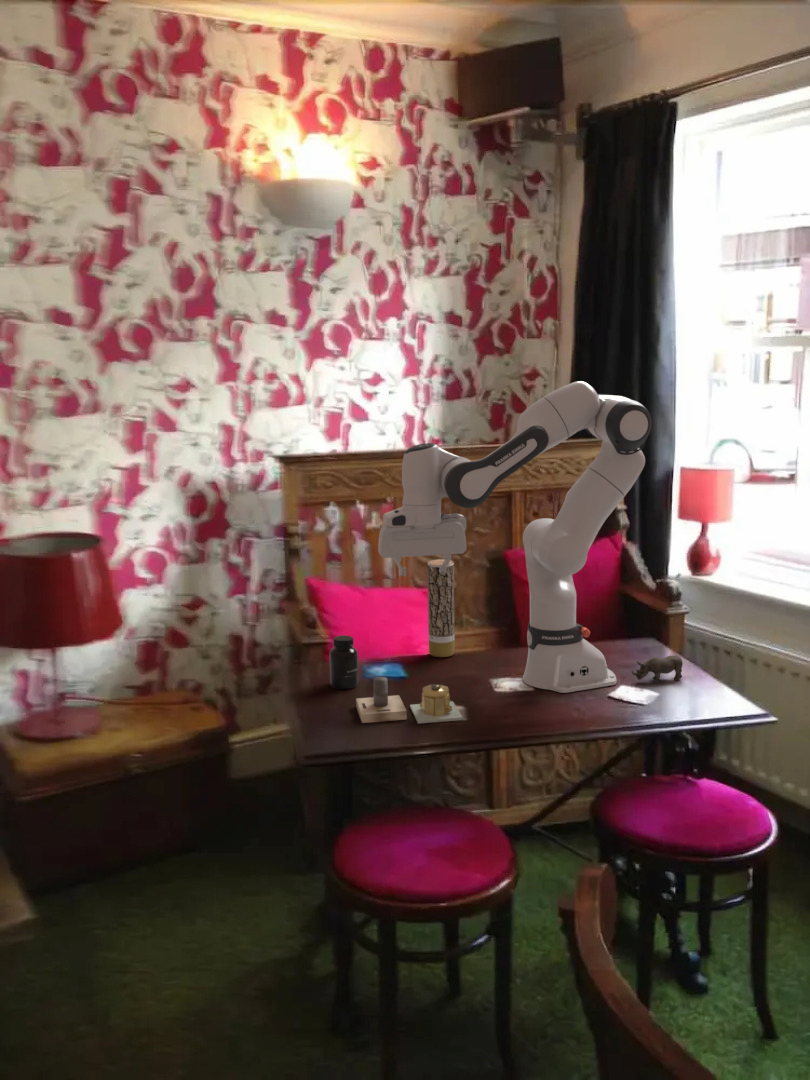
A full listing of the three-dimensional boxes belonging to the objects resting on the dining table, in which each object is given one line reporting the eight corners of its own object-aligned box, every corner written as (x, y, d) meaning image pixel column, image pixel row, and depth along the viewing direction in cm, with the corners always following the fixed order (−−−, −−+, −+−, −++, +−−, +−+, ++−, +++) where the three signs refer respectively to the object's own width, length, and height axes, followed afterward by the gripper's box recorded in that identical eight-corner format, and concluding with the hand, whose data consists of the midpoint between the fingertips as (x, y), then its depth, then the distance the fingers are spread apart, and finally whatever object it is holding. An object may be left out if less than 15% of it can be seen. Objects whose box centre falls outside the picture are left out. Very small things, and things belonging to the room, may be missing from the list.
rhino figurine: (627, 680, 247) (627, 656, 246) (678, 675, 250) (679, 651, 249) (634, 686, 243) (635, 662, 242) (687, 680, 246) (688, 656, 245)
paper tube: (435, 659, 265) (434, 566, 260) (424, 652, 271) (423, 561, 266) (459, 655, 267) (458, 563, 262) (447, 648, 273) (446, 558, 268)
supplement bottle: (354, 690, 243) (353, 642, 241) (327, 689, 244) (325, 641, 242) (361, 681, 250) (360, 634, 247) (334, 679, 251) (333, 633, 249)
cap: (427, 703, 232) (427, 679, 231) (456, 709, 228) (456, 684, 227) (415, 712, 227) (414, 686, 226) (444, 718, 223) (444, 692, 222)
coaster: (452, 703, 233) (452, 701, 233) (462, 719, 224) (462, 717, 224) (410, 707, 232) (410, 704, 232) (418, 723, 222) (418, 721, 222)
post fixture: (399, 703, 234) (398, 670, 233) (406, 719, 225) (406, 685, 223) (356, 706, 233) (355, 673, 231) (362, 723, 223) (360, 688, 221)
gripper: (463, 510, 236) (463, 568, 239) (376, 514, 233) (377, 573, 236) (469, 515, 230) (469, 574, 233) (380, 519, 227) (381, 579, 230)
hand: (422, 574), depth 234 cm, fingers open, 8 cm apart
